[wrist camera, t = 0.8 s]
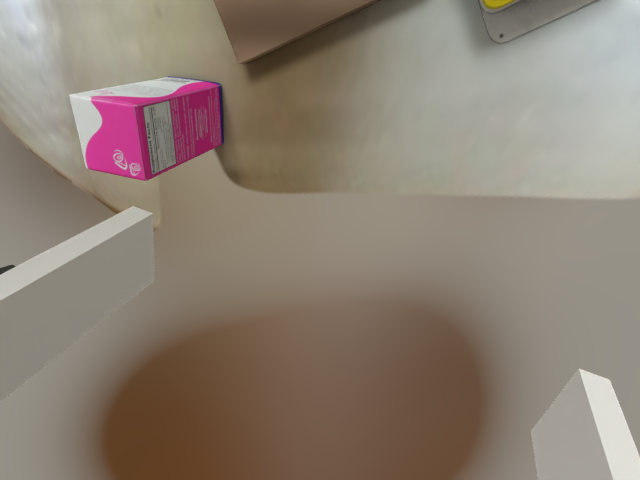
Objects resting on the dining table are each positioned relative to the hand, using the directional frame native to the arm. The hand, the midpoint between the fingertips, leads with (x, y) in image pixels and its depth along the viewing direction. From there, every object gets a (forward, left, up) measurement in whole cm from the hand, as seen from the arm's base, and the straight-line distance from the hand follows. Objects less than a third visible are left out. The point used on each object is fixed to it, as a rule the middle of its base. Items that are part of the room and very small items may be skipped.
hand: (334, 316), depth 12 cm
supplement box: (-9, -19, -25) cm, 33 cm away
